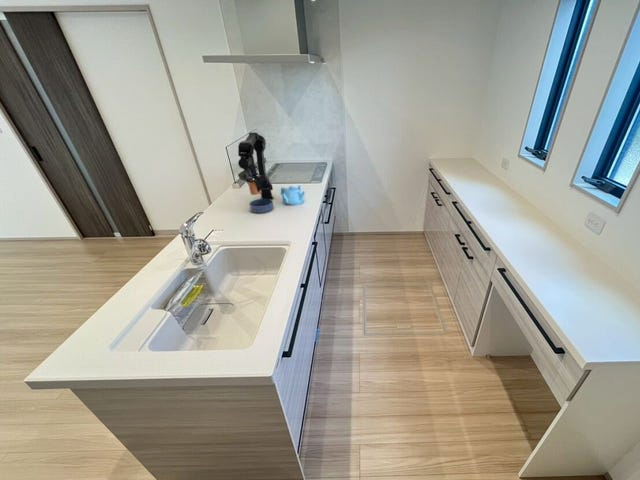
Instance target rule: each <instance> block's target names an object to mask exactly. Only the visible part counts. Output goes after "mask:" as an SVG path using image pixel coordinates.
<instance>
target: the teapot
mask: <svg viewBox="0 0 640 480" xmlns="http://www.w3.org/2000/svg"><path fill="white" fill-rule="evenodd" d="M305 194H306V191H302V185H298V186H297V187H295V186H293V185H290V186H288V187H287V188H286V187H284V186H283V187H280V196H281V197H282V202H283V203H284V204H285V205H287V206H297V205H300V204H302V203H303V202H304V199H305Z"/></svg>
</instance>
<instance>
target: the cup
mask: <svg viewBox="0 0 640 480" xmlns="http://www.w3.org/2000/svg"><path fill="white" fill-rule="evenodd" d="M254 181H255V180H254V179H253V180H250V181H248V183H247V185H248V189H249V193H250V195H252V196H257V195H261V189H260V191H259V192H258V190H257V187H256V184H255V183H254Z"/></svg>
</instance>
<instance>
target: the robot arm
mask: <svg viewBox="0 0 640 480" xmlns="http://www.w3.org/2000/svg"><path fill="white" fill-rule="evenodd" d="M266 145H267V142H266V139H265V138H264V136H262V135H261V134H259V133H258V132H249V133H248V136H247V137H246V138H245V140H243V141H240V142H239V143H238V149H237V150H238V151H237V154H238V157H240V159H238V162H237V165H238V167H239V168H240V169H242V171H240V172H239V173H238V174H237V177H238V179H239V180H240V181H244V182H246V184H248V181H250V180H255V181H254V183H255V184H256V187H257V190H258V192H259V191H260V189H261V193H260V197H261V198H260V199H270V200H273V199H274V197H273V194H272V190H273V189H274V188H273V184H272V183H271V181H270V178H269V177H268V175H267V171H266V170H267V169H266V162H265V154H264V152H265V150H266ZM254 154H256V163H257V165H256V163H255V158H254ZM257 171H258V172H257Z"/></svg>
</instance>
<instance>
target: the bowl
mask: <svg viewBox="0 0 640 480" xmlns="http://www.w3.org/2000/svg"><path fill="white" fill-rule="evenodd" d="M248 205H249V210H250V211H251V212H252V213H255V214H265V213H269V212H271V211H273V210H274V203H273V199H262V198H259V199H254V200H252V201H250V202H249V204H248Z"/></svg>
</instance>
